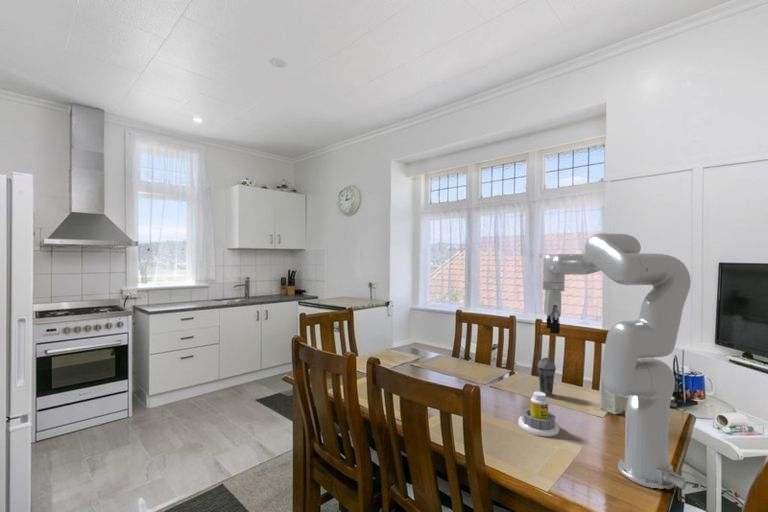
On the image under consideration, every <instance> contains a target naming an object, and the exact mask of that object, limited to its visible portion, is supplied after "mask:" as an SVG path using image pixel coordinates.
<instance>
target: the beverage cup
mask: <svg viewBox="0 0 768 512" xmlns="http://www.w3.org/2000/svg"><path fill="white" fill-rule="evenodd" d="M547 350H548V351H547V357H543V358H541V359H539V360H538V363H537V366H536V368H537V372H538V381H539V383H538V384H539V392H543V393H545V394H546V396H551V397H552V396H553V389H554V383H555V382H554V380H555V374H556V370H557V369H556V363H555V361H553V359H551V358H550V357H549V356H550V347H548V349H547Z"/></svg>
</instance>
